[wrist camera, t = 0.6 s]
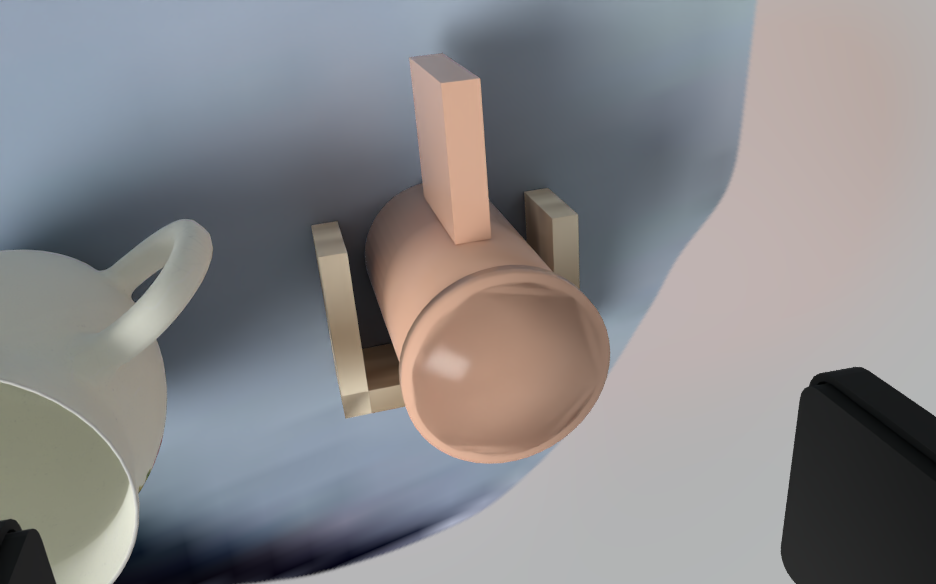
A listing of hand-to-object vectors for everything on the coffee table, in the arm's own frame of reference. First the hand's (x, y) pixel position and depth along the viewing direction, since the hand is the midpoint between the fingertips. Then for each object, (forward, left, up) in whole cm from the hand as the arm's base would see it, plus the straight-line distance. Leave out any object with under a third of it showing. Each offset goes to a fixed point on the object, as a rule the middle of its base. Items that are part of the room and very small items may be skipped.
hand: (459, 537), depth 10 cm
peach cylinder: (+5, +5, -28) cm, 29 cm away
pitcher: (+8, -12, -28) cm, 32 cm away
